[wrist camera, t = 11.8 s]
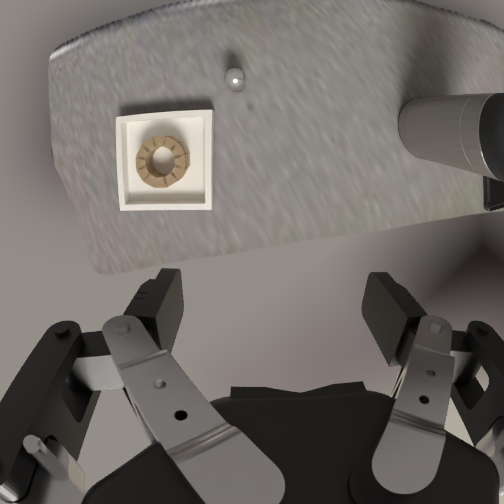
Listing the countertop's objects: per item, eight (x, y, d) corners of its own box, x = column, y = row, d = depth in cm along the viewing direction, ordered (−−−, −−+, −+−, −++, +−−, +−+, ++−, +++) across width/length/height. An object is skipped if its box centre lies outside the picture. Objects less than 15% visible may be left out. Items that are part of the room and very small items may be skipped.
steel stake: (245, 76, 33) (244, 68, 28) (244, 92, 33) (244, 85, 29) (228, 76, 33) (225, 68, 28) (227, 92, 33) (224, 85, 29)
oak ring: (190, 134, 35) (185, 135, 32) (190, 183, 37) (185, 187, 35) (143, 137, 35) (135, 138, 32) (144, 184, 37) (136, 188, 35)
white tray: (214, 111, 34) (212, 109, 32) (213, 205, 39) (211, 209, 37) (123, 117, 34) (116, 117, 32) (127, 206, 39) (120, 210, 37)
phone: (486, 212, 39) (481, 126, 33) (482, 210, 40) (477, 126, 34) (510, 205, 38) (507, 125, 32) (507, 203, 39) (503, 125, 33)
